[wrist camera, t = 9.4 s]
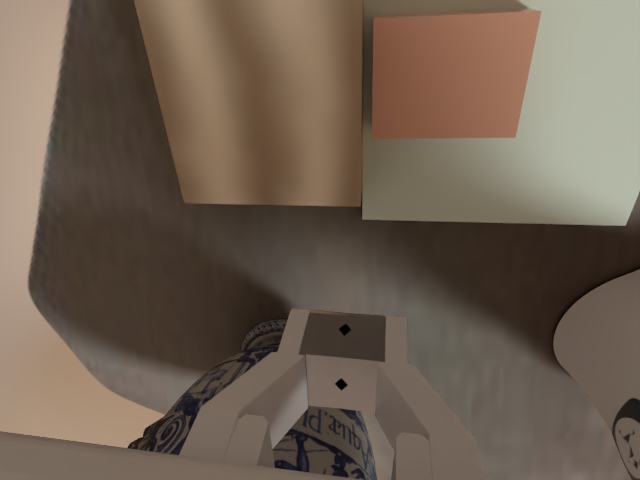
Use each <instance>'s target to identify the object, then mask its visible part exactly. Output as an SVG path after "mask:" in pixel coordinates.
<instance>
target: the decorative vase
mask: <svg viewBox="0 0 640 480" xmlns="http://www.w3.org/2000/svg"><path fill="white" fill-rule="evenodd" d="M287 320H288V319H276V320H269V321H266V322H263V323H260V324H258V325H257V326H255V327H253V328H252V329H251V330H250V331H249V332H248V333H247V335H246V336H245V338H244V340H243V343H242V347H241V352H239V353H237V354H235V355H233V356H231V357H229V358H227V359H226V360H224V361H222V362H221V363H219V364H218V365H217V366H215V367H214V368H212V369H211V370H210V371H209V372H207V373H206V374H205V375H203V376H202V377H201V378H200V379H199V380H198V381H196V382H195V383H194V384H193V385H192V386H191V387H190V388H189V389H188V390H187V391H186V392H185V393H184V394H183V395H182V396H181V397H180V398H179V400H178V401H177V402H176V403H175V404H174V405H173V407H172V408H171V409H170V410H169V412H168V413H167V414H166V415H165V416H164V417H163V418H161V419H160V420H158V421H157V422H155V423H153V424H152V425H150V426H148V427H147V428H146V429H145V431H144V434H143V437H142V438H139V439H137V440H135V441H133V442H132V443H130V445H129V446H128V448H129V449H137V450H144V451H152V452H159V453H167V454H174V455H179V454H180V452H181V450H182V447H183V445H184V443H185V441H186V439H187V436H188V434H189V432H190V430H191V428H192V426H193V423H194V421H195V419H196V417H197V415H198V412H199V410H200V408H201V407H202V406H203V405H204V404H206V403H207V402H208V401H209V400H211V399H212V398H213V397H215V396H216V395H217V394H218V393H220V392H221V391H222V390H224V389H225V388H226V387H227V386H229V385H230V384H231V383H233V382H234V381H235V380H236V379H238V378H239V377H240V376H242V375H243V374H244V373H245V372H247V371H248V370H249V369H251V368H252V367H253V366H254V365H256V364H257V363H258V362H260V361H261V360H262V359H263V358H265V357H266V356H267V355H269V354H270V353H271V352H277V351H278V348H279V345H280V342H281V339H282V336H283V332H284V329H285V326H286V323H287ZM272 451H273V458H274V465H275V468H278V469H286V470H293V471H301V472H308V473H316V474H324V475H331V476H339V477H346V478H354V479H361V480H377V476H376V468H375V461H374V456H373V451H372V447H371V443H370V439H369V436H368V432H367V429H366V426H365V423H364V420H363V417H362V414H361V412H360V411H355V410H348V409H341V408H329V407H317V406H308V409H307V410H306V411H305V412H304V413H303V415H302V416H301V417H300V418H299V419H298V420H297V421H296V423H295V424H294V425H293V426H292V427H291V428H290V430H289V431H288V432H287V433H286V434H285V435H284V437H283V438H282V439H281V440H280V441H279V442H278V443H277V445H276V446H275V447H274V448H273V449H272Z"/></svg>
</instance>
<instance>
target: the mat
mask: <svg viewBox="0 0 640 480" xmlns="http://www.w3.org/2000/svg"><path fill="white" fill-rule="evenodd" d="M520 8H530V9H535V10H540V11H541V16H540V21H539V26H538V31H537V36H536V41H535V45H534V50H533V55H532V60H531V65H530V70H529V75H528V80H527V84H526V89H525V94H524V99H523V104H522V109H521V114H520V118H519V123H518V128H517V133H516V138H403V139H372V83H373V21H374V15H395V14H416V13H436V12H457V11H478V10H499V9H520ZM639 191H640V0H365V2H364V102H363V202H362V220H400V221H442V222H485V223H527V224H569V225H612V226H626V224H627V221H628V219H629V216H630V214H631V211H632V209H633V206H634V204H635V201H636V199H637V196H638V194H639Z"/></svg>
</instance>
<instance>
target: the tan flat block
mask: <svg viewBox="0 0 640 480" xmlns="http://www.w3.org/2000/svg"><path fill="white" fill-rule="evenodd" d="M364 2H365V0H134V3H135V7H136V11H137V15H138V19H139V23H140V27H141V31H142V35H143V40H144V44H145V48H146V52H147V56H148V60H149V64H150V68H151V72H152V76H153V80H154V84H155V88H156V92H157V96H158V100H159V104H160V108H161V112H162V116H163V120H164V124H165V128H166V132H167V136H168V140H169V145H170V149H171V153H172V157H173V161H174V165H175V169H176V173H177V177H178V181H179V185H180V189H181V193H182V197H183V201H184V203H193V204H244V205H296V206H347V207H361V197H362V187H363V102H364Z"/></svg>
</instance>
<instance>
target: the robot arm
mask: <svg viewBox="0 0 640 480" xmlns="http://www.w3.org/2000/svg"><path fill="white" fill-rule="evenodd" d="M553 347H554V353H555V356H556V358H557V360H558V362H559V363H560V365H561V366H562V367H563V368H564V369H565V370H566V371H567V372H568V373H569V374H570V375H571V376H572V378H573V379H574V380H575V381H576V382H577V383H578V384H579V386H580V387H581V388H582V389H583V391H584V392H585V393H586V394H587V396H588V397H589V398H590V400H591V401H592V402H593V404H594V405H595V407H596V408H597V410H598V411H599V413H600V414H601V416H602V417H603V419H604V420H605V422H606V423H607V425H608V426H609V428H610V430H611V431H612V435H613V437H614V440H615V443H616V446H617V448H618V451H619V453H620V456H621V458H622V460H623V463H624V465H625V467H626V469H627V471H628V473H629V475H630V477H631V479H632V480H640V269H639V270H636V271H634V272H632V273H629V274H626V275H624V276H621V277H618V278H616V279H613V280H611V281H609V282H607V283H605V284H603V285H601V286H599V287H597V288H595V289H594V290H592V291H590V292H589V293H587V294H586V295H584V296H583V297H582V298H580V299H579V300H578V301H577V302H576V303H575V304H574V305H573V306H572V307H571V308H570V309H569V310H568V311H567V312H566V313H565V315H564V316H563V317H562V319H561V320H560V322H559V324H558V326H557V328H556V331H555V334H554V341H553ZM308 406H317V407H329V408H341V409H348V410H355V411H363V412H370V413H375V416H376V418H377V420H378V422H379V424H380V425H381V427H382V429H383V431H384V433H385V435H386V437H387V438H388V440H389V442H390V444H391V446H392V448H393V449H394V451H395V453H394V461H393V470H392V478H391V480H483V476H482V470H481V465H480V460H479V454H478V449H477V443H476V439H475V438H474V437H473V436H472V434H471V433H470V432H469V431H468V430H467V428H466V427H465V426H464V425H463V424H462V422H461V421H460V420H459V419H458V418H457V416H456V415H455V414H454V413H453V412H452V410H451V409H450V408H449V407H448V406H447V404H446V403H445V402H444V401H443V400H442V398H441V397H440V396H439V395H438V393H437V392H436V391H435V390H434V389H433V387H432V386H431V385H430V384H429V383H428V381H427V380H426V379H425V378H424V377H423V375H422V374H421V373H420V372H419V371H418V369H417V368H416V367H415V366H414V365H408V350H407V329H406V318H405V317H403V316H381V315H367V314H353V313H341V312H331V311H321V310H312V309H311V310H308V309H298V308H292V310H291V311H290V313H289V316H288V320H287V323H286V326H285V329H284V332H283V336H282V339H281V342H280V345H279V348H278V351H277V352H271V353H270V354H269V355H267V356H266V357H265V358H263V359H262V360H261V361H260V362H258V363H257V364H256V365H254V366H253V367H252V368H251V369H249V370H248V371H247V372H245V373H244V374H243V375H242V376H240V377H239V378H238V379H236V380H235V381H234V382H233V383H231V384H230V385H229V386H227V387H226V388H225V389H224V390H222V391H221V392H220V393H218V394H217V395H216V396H215V397H213V398H212V399H211V400H209V401H208V402H207V403H206V404H204V405H203V406H202V407H201V408H200V410H199V412H198V415H197V417H196V419H195V421H194V423H193V426H192V428H191V430H190V432H189V434H188V436H187V439H186V441H185V443H184V445H183V447H182V450H181V452H180V454H179V455H174V454H167V453H159V452H152V451H144V450H137V449H129V448H121V447H114V446H106V445H99V444H91V443H84V442H76V441H68V440H61V439H54V438H46V437H39V436H31V435H23V434H16V433H8V432H1V431H0V480H361V479H354V478H346V477H339V476H331V475H324V474H316V473H308V472H301V471H293V470H286V469H278V468H275V465H274V458H273V451H272V449H273V448H274V447H275V446H276V445H277V443H278V442H279V441H280V440H281V439H282V438H283V437H284V435H285V434H286V433H287V432H288V431H289V430H290V428H291V427H292V426H293V425H294V424H295V423H296V421H297V420H298V419H299V418H300V417H301V416H302V415H303V413H304V412H305V411H306V410H307V409H308Z"/></svg>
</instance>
